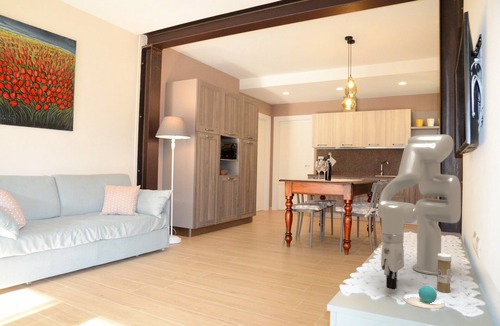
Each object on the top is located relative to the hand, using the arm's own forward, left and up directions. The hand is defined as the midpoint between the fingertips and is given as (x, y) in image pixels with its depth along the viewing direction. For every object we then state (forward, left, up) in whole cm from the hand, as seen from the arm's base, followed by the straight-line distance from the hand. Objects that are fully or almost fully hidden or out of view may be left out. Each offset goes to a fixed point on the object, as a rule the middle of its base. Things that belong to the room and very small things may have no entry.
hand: (391, 288), depth 128 cm
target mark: (0, +11, -2) cm, 11 cm away
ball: (0, +12, +1) cm, 12 cm away
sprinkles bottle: (-16, +13, -2) cm, 21 cm away
